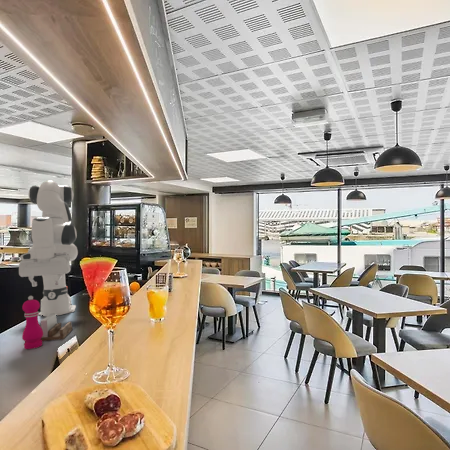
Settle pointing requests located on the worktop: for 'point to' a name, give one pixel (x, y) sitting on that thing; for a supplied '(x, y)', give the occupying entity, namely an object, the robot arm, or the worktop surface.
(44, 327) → the clay strip
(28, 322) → the pepper mill
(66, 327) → the walnut rack
